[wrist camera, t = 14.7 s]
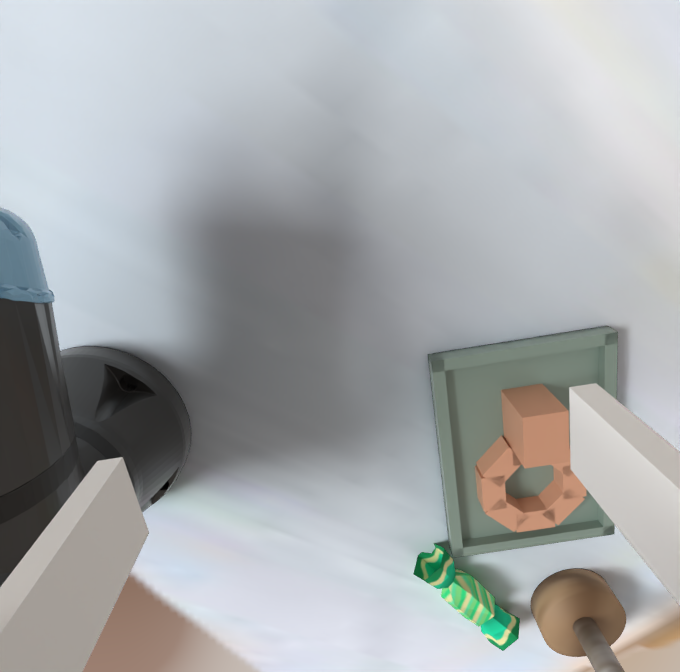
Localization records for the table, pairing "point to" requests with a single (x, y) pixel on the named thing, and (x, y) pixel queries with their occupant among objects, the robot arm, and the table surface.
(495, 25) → the table surface
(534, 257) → the table surface
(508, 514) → the ring
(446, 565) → the candy
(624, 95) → the table surface
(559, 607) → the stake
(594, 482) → the robot arm
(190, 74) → the table surface
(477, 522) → the tray
